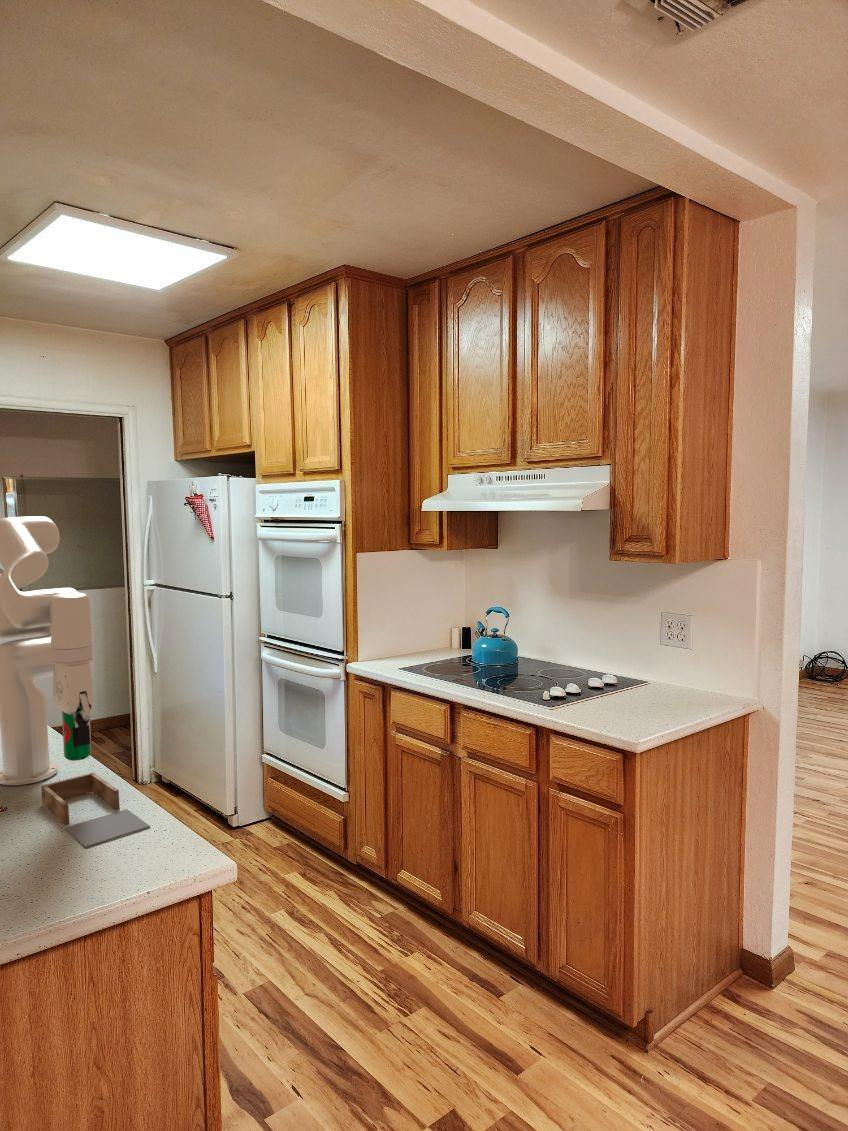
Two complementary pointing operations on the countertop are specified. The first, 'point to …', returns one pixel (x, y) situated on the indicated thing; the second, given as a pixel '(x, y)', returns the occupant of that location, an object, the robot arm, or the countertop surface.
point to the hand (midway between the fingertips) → (76, 741)
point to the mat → (106, 828)
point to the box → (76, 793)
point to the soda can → (69, 749)
